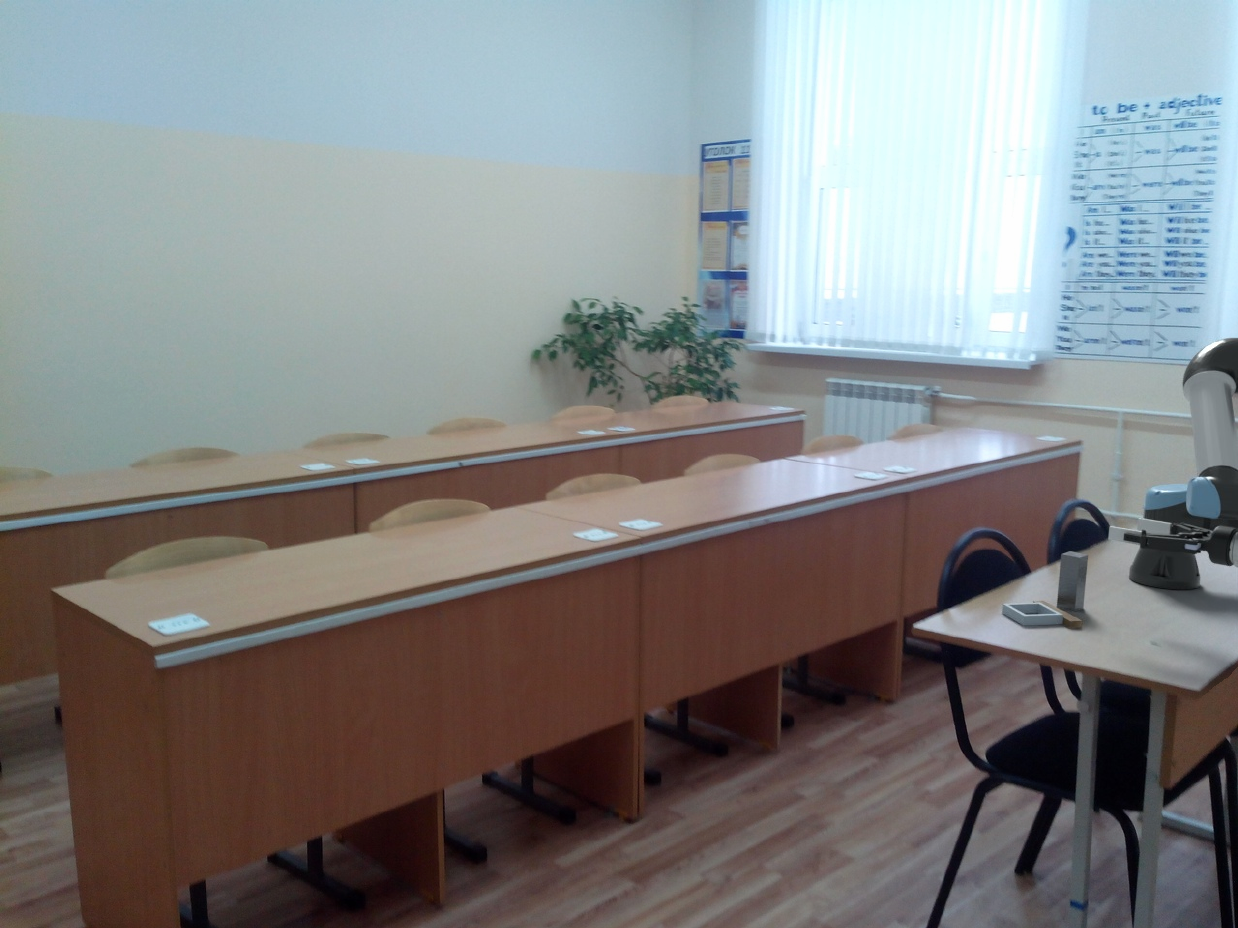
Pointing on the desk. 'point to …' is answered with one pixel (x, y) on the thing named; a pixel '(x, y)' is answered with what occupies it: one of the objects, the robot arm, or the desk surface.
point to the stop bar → (1072, 581)
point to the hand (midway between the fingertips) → (1124, 528)
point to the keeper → (1043, 618)
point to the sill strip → (1064, 616)
